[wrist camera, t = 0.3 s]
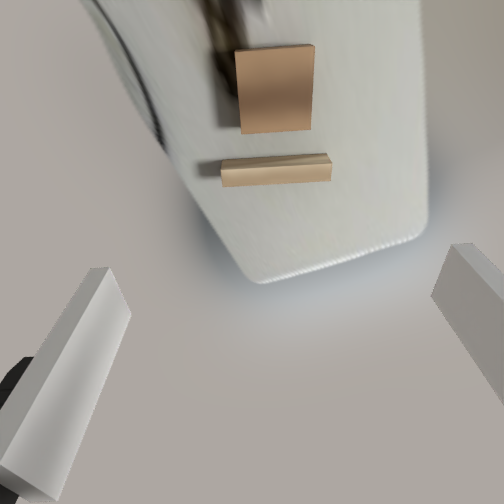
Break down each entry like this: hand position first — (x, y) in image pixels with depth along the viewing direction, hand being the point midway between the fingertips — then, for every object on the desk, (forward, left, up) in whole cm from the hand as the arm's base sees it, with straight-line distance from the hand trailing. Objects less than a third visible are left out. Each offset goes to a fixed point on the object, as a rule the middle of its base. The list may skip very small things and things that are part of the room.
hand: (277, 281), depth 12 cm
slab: (-3, +2, -26) cm, 26 cm away
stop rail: (+5, +2, -25) cm, 26 cm away
